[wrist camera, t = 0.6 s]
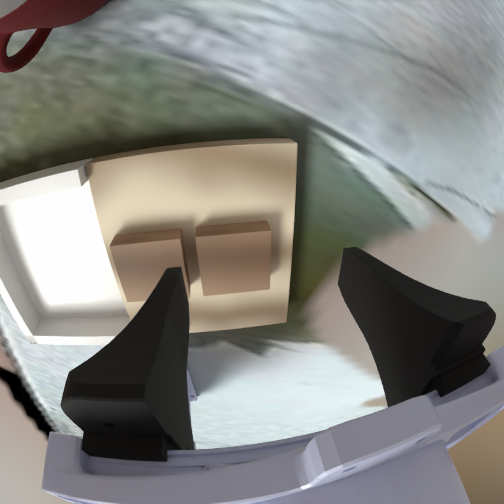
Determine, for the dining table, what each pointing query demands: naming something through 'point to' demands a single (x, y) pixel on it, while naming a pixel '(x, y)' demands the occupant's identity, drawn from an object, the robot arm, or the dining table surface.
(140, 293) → the tile
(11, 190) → the tray
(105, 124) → the dining table surface
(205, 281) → the tile
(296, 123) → the dining table surface
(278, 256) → the board
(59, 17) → the mug
